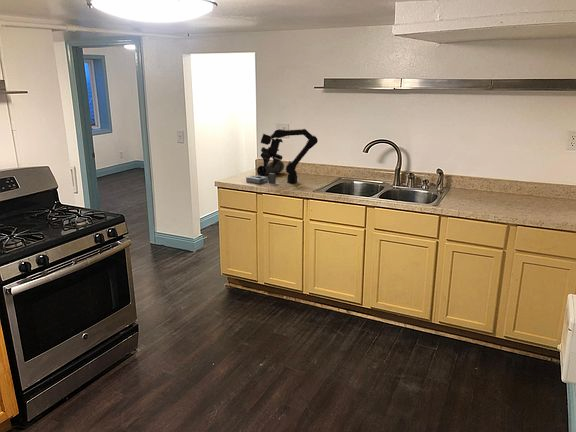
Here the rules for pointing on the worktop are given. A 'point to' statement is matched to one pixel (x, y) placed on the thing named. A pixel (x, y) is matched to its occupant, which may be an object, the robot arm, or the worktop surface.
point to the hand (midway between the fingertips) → (268, 167)
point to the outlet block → (257, 179)
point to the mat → (270, 183)
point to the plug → (272, 178)
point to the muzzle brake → (270, 169)
